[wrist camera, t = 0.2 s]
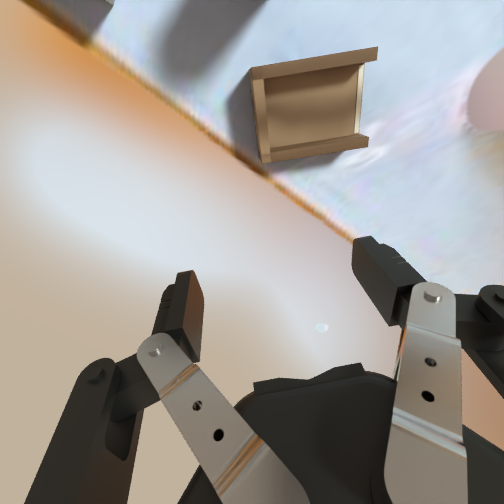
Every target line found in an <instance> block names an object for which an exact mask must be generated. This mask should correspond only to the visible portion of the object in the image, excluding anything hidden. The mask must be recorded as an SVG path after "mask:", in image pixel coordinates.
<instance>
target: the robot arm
mask: <svg viewBox="0 0 504 504" xmlns="http://www.w3.org/2000/svg"><path fill="white" fill-rule="evenodd" d="M352 270H353V273H354V275H355V276H356V278H357V280H358V281H359V282H360V284H361V285H362V287H363V288H364V290H365V292H366V293H367V295H368V296H369V297H370V299H371V300H372V302H373V303H374V305H375V306H376V308H377V309H378V311H379V312H380V314H381V315H382V317H383V318H384V320H385V321H386V323H387V324H388V326H395V325H399V326H400V327H401V328H402V331H401V335H400V341H399V346H398V352H397V357H396V362H395V368H394V372H393V377H392V378H390V377H387V376H385V375H382V374H379V373H375V372H370V371H365V370H364V368H363V366H362V364H361V363H356V364H350V365H345V366H339V367H334V368H332V369H330V370H328V371H326V372H324V373H322V374H320V375H318V376H316V377H314V378H312V379H308V380H304V379H290V378H276V379H270V380H265V381H260V382H254V383H253V385H254V391H253V392H251V393H250V394H248V395H247V396H245V397H243V398H242V399H241V400H240V401H239V402H238V403H237V404H236V405H235V406H234V407H232V405H231V404H230V403H229V402H228V401H227V400H226V398H225V397H224V396H223V395H222V393H221V392H220V391H219V390H218V389H217V388H216V386H215V385H214V384H213V383H212V382H211V381H210V379H209V378H208V377H207V376H206V375H205V373H204V372H203V371H202V370H201V369H200V368H199V366H197V365H196V364H195V365H194V364H193V363H196V362H199V361H200V350H201V338H202V325H203V312H204V297H203V293H202V290H201V287H200V285H199V282H198V280H197V277H196V275H195V272H194V271H193V270H190V271H186V272H180V273H178V274H177V277H176V281H175V284H172V285H169V286H168V287H167V288H166V290H165V291H164V292H163V295H162V298H161V303H160V306H159V310H158V313H157V316H156V320H155V324H154V327H153V331H152V335H151V336H150V337H148V338H147V339H146V340H145V341H143V343H142V344H141V345H140V347H139V349H138V351H137V353H136V354H134V355H132V356H130V357H128V358H126V359H123V360H121V361H119V362H117V363H115V362H114V361H113V360H112V359H110V358H102V359H99V360H96V361H94V362H93V363H91V364H89V365H88V366H87V367H86V368H85V369H84V370H83V371H82V372H81V373H80V375H79V376H78V378H77V380H76V383H75V385H74V388H73V390H72V392H71V395H70V397H69V399H68V402H67V404H66V406H65V409H64V411H63V413H62V416H61V418H60V420H59V423H58V425H57V427H56V430H55V432H54V434H53V437H52V439H51V442H50V444H49V446H48V449H47V451H46V453H45V456H44V458H43V460H42V463H41V465H40V467H39V470H38V472H37V474H36V477H35V479H34V482H33V484H32V486H31V489H30V491H29V493H28V496H27V498H26V500H25V503H24V504H127V501H128V495H129V490H130V484H131V479H132V473H133V468H134V462H135V456H136V451H137V445H138V439H139V435H140V429H141V423H142V418H143V412H144V408H146V407H148V406H150V405H152V404H154V403H156V402H158V401H159V400H161V401H162V403H163V404H164V406H165V408H166V409H167V411H168V412H169V414H170V416H171V417H172V419H173V421H174V422H175V424H176V426H177V427H178V429H179V430H180V432H181V434H182V435H183V437H184V439H185V440H186V442H187V444H188V445H189V447H190V448H191V450H192V452H193V453H194V455H195V457H196V458H197V460H198V462H199V463H200V465H199V467H198V468H197V470H196V472H195V474H194V475H193V477H192V479H191V481H190V482H189V484H188V486H187V488H186V490H185V491H184V493H183V495H182V496H181V498H180V500H179V502H178V503H177V504H504V451H503V450H501V449H500V448H498V447H497V446H495V445H494V444H492V443H491V442H489V441H488V440H486V439H485V438H483V437H481V436H480V435H478V434H477V433H475V432H474V431H472V430H471V429H469V428H468V427H466V426H465V425H463V424H462V384H461V383H462V374H461V348H463V349H464V350H465V352H466V353H467V354H468V355H469V357H470V358H471V359H472V360H473V362H474V363H475V364H476V365H477V367H478V368H479V369H480V370H481V371H482V373H483V374H484V375H485V376H486V378H487V379H488V380H489V381H490V382H491V384H492V385H493V386H494V387H495V389H496V390H497V391H498V392H499V394H500V395H501V396H502V397H503V399H504V286H502V285H487V286H484V287H483V288H482V289H481V290H480V292H479V294H478V295H467V294H453V292H452V291H451V290H449V289H448V288H446V287H444V286H442V285H440V284H437V283H432V282H427V281H426V280H425V279H424V278H423V277H422V276H421V275H420V274H419V273H418V272H417V271H416V270H415V269H414V268H413V267H412V266H411V265H410V264H409V263H408V262H406V260H405V259H404V258H403V257H401V255H400V254H399V253H398V252H397V251H396V250H395V249H394V248H392V247H390V246H388V245H386V244H379V243H378V242H377V241H376V240H375V239H374V238H373V237H372V236H366V237H361V238H356V239H354V241H353V250H352Z"/></svg>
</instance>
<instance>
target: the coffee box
mask: <svg viewBox="0 0 504 504" xmlns="http://www.w3.org/2000/svg"><path fill="white" fill-rule="evenodd" d="M105 1H106V2H108V3H109V4H111V5H113V4H114V0H105Z"/></svg>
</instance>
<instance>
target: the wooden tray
mask: <svg viewBox="0 0 504 504" xmlns="http://www.w3.org/2000/svg"><path fill="white" fill-rule="evenodd" d="M377 52H378V47H372V48H366V49H360V50H354V51H348V52H342V53H336V54H330V55H324V56H318V57H312V58H306V59H300V60H294V61H288V62H282V63H276V64H270V65H264V66H258V67H252V68H250V69H249V77H250V86H251V94H252V103H253V111H254V120H255V128H256V136H257V145H258V153H259V158H260V160H261V162H262V164H265V163H272V162H278V161H284V160H290V159H296V158H303V157H309V156H315V155H321V154H327V153H334V152H340V151H346V150H352V149H359V148H365V147H368V141H369V137H367V136H364V135H361V134H359V127H360V115H361V102H362V90H363V78H364V65H365V62H370V61H375V60H377Z"/></svg>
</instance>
